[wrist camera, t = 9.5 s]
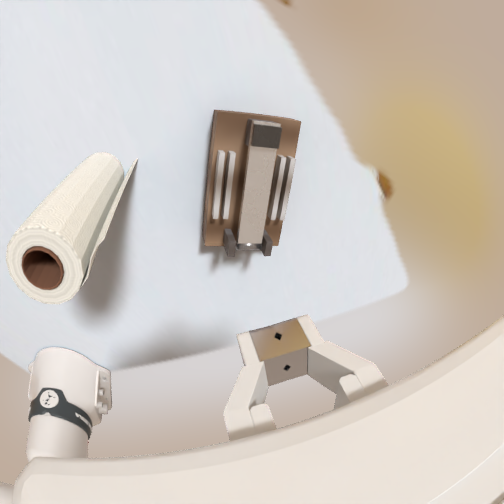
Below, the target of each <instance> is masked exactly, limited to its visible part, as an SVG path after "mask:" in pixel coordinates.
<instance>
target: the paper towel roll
mask: <svg viewBox="0 0 504 504" xmlns="http://www.w3.org/2000/svg"><path fill="white" fill-rule="evenodd" d="M137 160H138V158H137V159H136V160H135V161H134V162H133V164H132V165H131V167H130V168H129V170H128V172H127V174H126V177H125V179H124V170H123V167H122V165H121V162H120V161H119V160H118V159H117V158H116V157H115V156H114V155H111V154H109V153H106V152H97V153H95V154H93V155H90V156H89V157H87V158H86V159H85V160H84V161H83V162H82V163H81V164H80V165H79V166H78V167H76V168H75V169H74V170H73V171H72V172H71V173H70V174H69V175H68V176H67V177H66V178H65V179H64V180H63V181H62V182H61V183H60V184H59V185H58V186H57V187H56V188H55V189H54V190H53V191H52V192H51V193H50V194H49V195H48V196H47V197H46V198H45V199H44V200H43V201H42V203H41V204H40V205H39V206H38V207H37V208H36V209H35V210H34V211H33V212H32V214H31V215H30V216H29V217H28V218H27V219H26V220H25V222H24V223H23V224H22V225H21V226H20V227H19V229H18V230H17V231H16V232H15V234H14V235H13V237H12V238H11V240H10V242H9V243H8V245H7V253H6V262H7V266H8V270H9V273H10V276H11V277H12V279H13V280H14V282H15V283H16V285H17V286H18V288H19V289H21V290H22V291H23V292H24V293H25V294H27V295H28V296H29V297H30V298H32V299H35V300H37V301H40V302H42V303H45V304H61V303H63V302H66V301H69V300H71V299H72V298H73V297H74V296H75V294H76V293H77V292H78V291H79V290H80V288H81V287H82V285H83V284H84V282H85V281H86V280H87V278H88V276H89V273H90V270H91V267H92V264H93V261H94V258H95V256H96V253H97V250H98V247H99V245H100V243H101V242H102V241H103V240H104V239H105V236H106V233H107V231H108V228H109V225H110V223H111V220H112V218H113V215H114V212H115V210H116V207H117V205H118V203H119V200H120V198H121V195H122V193H123V191H124V188H125V186H126V184H127V181H128V179H129V177H130V175H131V173H132V170H133V168H134V166H135V164H136V162H137Z"/></svg>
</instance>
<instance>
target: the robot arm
mask: <svg viewBox="0 0 504 504" xmlns="http://www.w3.org/2000/svg"><path fill="white" fill-rule="evenodd" d="M236 335H237V340H238V343H239V347H240V351H241V355H242V359H243V363H244V367H242V369H241V371H240V373H239V376H238V378H237V381H236V383H235V386H234V388H233V391H232V393H231V395H230V398H229V400H228V403H227V405H226V407H225V410H224V412H223V414H224V418H225V423H226V427H227V431H228V435H229V440H230V441H229V442H225V443H220V444H215V445H210V446H206V447H200V448H194V449H188V450H182V451H175V452H168V453H160V454H152V455H142V456H130V457H115V458H88V443H89V442H88V440H89V438H90V435H91V433H92V426H95V425H97V424H99V423H100V422H101V419H102V414H108V410H110V409H111V407H112V398H111V372H110V371H109V370H107V369H106V368H103V367H101V366H98V365H96V364H95V363H93V362H92V361H91V360H89V359H88V358H86V357H85V356H83V355H81V354H79V353H77V352H75V351H72V350H69V349H65V348H59V347H50V348H45V349H43V350H41V351H39V352H38V354H37V355H36V358H35V360H34V361H33V362H31V363H30V364H29V367H28V370H29V371H30V373H31V379H30V385H29V393H28V397H29V399H30V401H31V405H30V409H29V422H30V425H29V432H28V439H27V447H26V456H27V459H28V461H29V463H28V464H27V465H26V467H25V468H24V469H23V470H22V472H21V473H20V475H19V476H18V478H17V479H16V481H15V484H14V485H11V484H7V483H3V482H0V504H504V315H503V316H502V317H501V318H499V319H498V320H497V321H495V322H494V323H492V324H491V325H490V326H488V327H487V328H486V329H484V330H483V331H481V332H480V333H478V334H477V335H475V336H474V337H473V338H471V339H470V340H468V341H467V342H465V343H463V344H462V345H460V346H459V347H457V348H456V349H454V350H453V351H451V352H449V353H448V354H446V355H444V356H443V357H441V358H439V359H438V360H436V361H434V362H432V363H431V364H429V365H427V366H425V367H424V368H422V369H420V370H418V371H416V372H415V373H413V374H411V375H409V376H407V377H405V378H403V379H401V380H399V381H397V382H395V383H393V384H391V385H388V383H387V382H386V380H385V379H384V377H383V376H382V374H381V373H380V371H379V370H378V368H377V366H376V365H375V363H373V362H371V361H369V360H367V359H364V358H362V357H360V356H358V355H356V354H354V353H352V352H350V351H348V350H346V349H344V348H341V347H339V346H337V345H335V344H333V343H331V342H329V341H326V342H324V340H323V339H322V337H321V335H320V333H319V332H318V330H317V328H316V326H315V325H314V323H313V321H312V319H311V318H310V316H309V315H308V314H307V315H303V316H300V317H297V318H293V319H290V320H287V321H284V322H280V323H277V324H274V325H271V326H268V327H264V328H260V329H256V330H252V331H248V332H244V333H240V334H236ZM306 374H308V375H309V376H310V377H311V378H313V379H315V380H316V381H317V382H319V383H321V384H322V385H323V386H325V387H326V388H328V389H329V390H331V391H332V392H334V393H335V394H337V395H336V401H335V405H334V410H331V411H329V412H326V413H323V414H321V415H318V416H315V417H312V418H309V419H307V420H304V421H301V422H298V423H295V424H292V425H288V426H285V427H282V428H279V429H277V428H276V425H275V423H274V420H273V418H272V415H271V412H270V409H269V406H268V405H266V404H264V402H265V399H266V395H267V392H268V388H269V387H268V386H271V385H274V384H277V383H280V382H283V381H286V380H289V379H293V378H296V377H299V376H303V375H306Z"/></svg>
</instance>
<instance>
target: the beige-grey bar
mask: <svg viewBox="0 0 504 504" xmlns="http://www.w3.org/2000/svg"><path fill="white" fill-rule="evenodd" d="M280 126H281V124H278V123H271V122H263V121H254V120H252V125H251V132H250V139H249V147H248V154H247V162H246V169H245V177H244V184H243V192H242V200H241V208H240V216H239V224H238V232H237V240H236V250H261V248H262V238H263V232H264V226H265V220H266V214H267V208H268V202H269V195H270V189H271V183H272V177H273V170H274V164H275V158H276V151H277V149H279V145H280V139H281V132H282V127H280Z"/></svg>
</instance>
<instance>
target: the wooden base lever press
mask: <svg viewBox="0 0 504 504" xmlns="http://www.w3.org/2000/svg"><path fill="white" fill-rule="evenodd" d="M252 120H254V121H263V122H271V123H278V124H281V126H280V127H282V132H281V139H280V145H279V149H277V151H276V158H275V164H274V170H273V177H272V183H271V189H270V195H269V202H268V208H267V214H266V220H265V226H264V232H263V238H262V248H261V251H262V253H263V255H264V256H271V250H272V246H278V244H279V239H280V234H281V229H282V223H283V220H284V219H285V214H286V209H287V204H288V199H289V193H290V188H291V183H292V177H293V172H294V166H295V161H296V159H295V154H296V148H297V143H298V137H299V131H300V125H301V121H298V120H294V119H290V118H284V117H277V116H270V115H262V114H254V113H245V112H235V111H224V110H214V117H213V126H212V135H211V144H210V154H209V164H208V175H207V186H206V198H205V211H204V224H203V239H204V243H205V246H224V247H225V250H226V253H227V256H228V257H234V255H235V247H236V240H237V232H238V224H239V216H240V208H241V200H242V192H243V184H244V177H245V169H246V162H247V154H248V147H249V139H250V132H251V125H252Z"/></svg>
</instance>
